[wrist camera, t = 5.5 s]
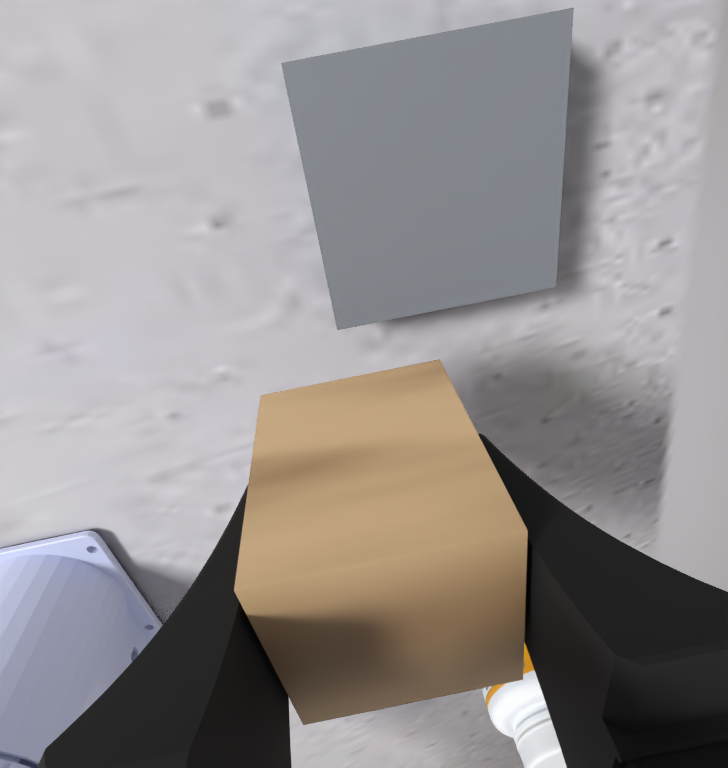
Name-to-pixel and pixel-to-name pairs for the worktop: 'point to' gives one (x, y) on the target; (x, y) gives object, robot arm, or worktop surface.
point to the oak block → (380, 546)
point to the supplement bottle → (525, 718)
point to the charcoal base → (436, 165)
